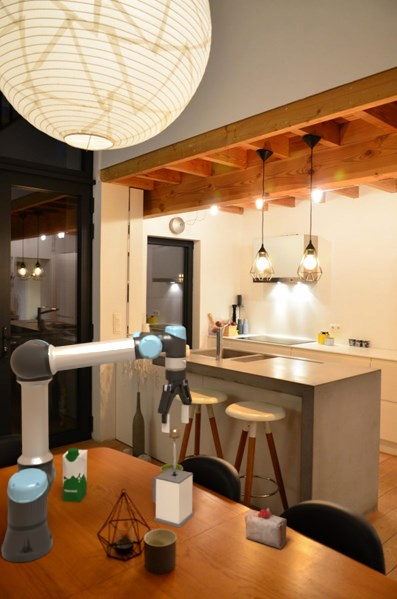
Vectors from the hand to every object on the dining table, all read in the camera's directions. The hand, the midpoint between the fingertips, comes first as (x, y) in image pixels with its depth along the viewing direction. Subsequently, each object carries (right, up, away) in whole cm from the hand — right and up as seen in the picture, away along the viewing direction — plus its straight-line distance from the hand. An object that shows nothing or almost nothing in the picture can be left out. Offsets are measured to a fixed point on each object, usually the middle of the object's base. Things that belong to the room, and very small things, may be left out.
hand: (175, 427), depth 166 cm
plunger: (0, -20, 0) cm, 20 cm away
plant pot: (-3, -33, +25) cm, 42 cm away
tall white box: (-2, -33, +1) cm, 33 cm away
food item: (+30, -34, -14) cm, 47 cm away
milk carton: (-41, -33, +16) cm, 55 cm away
